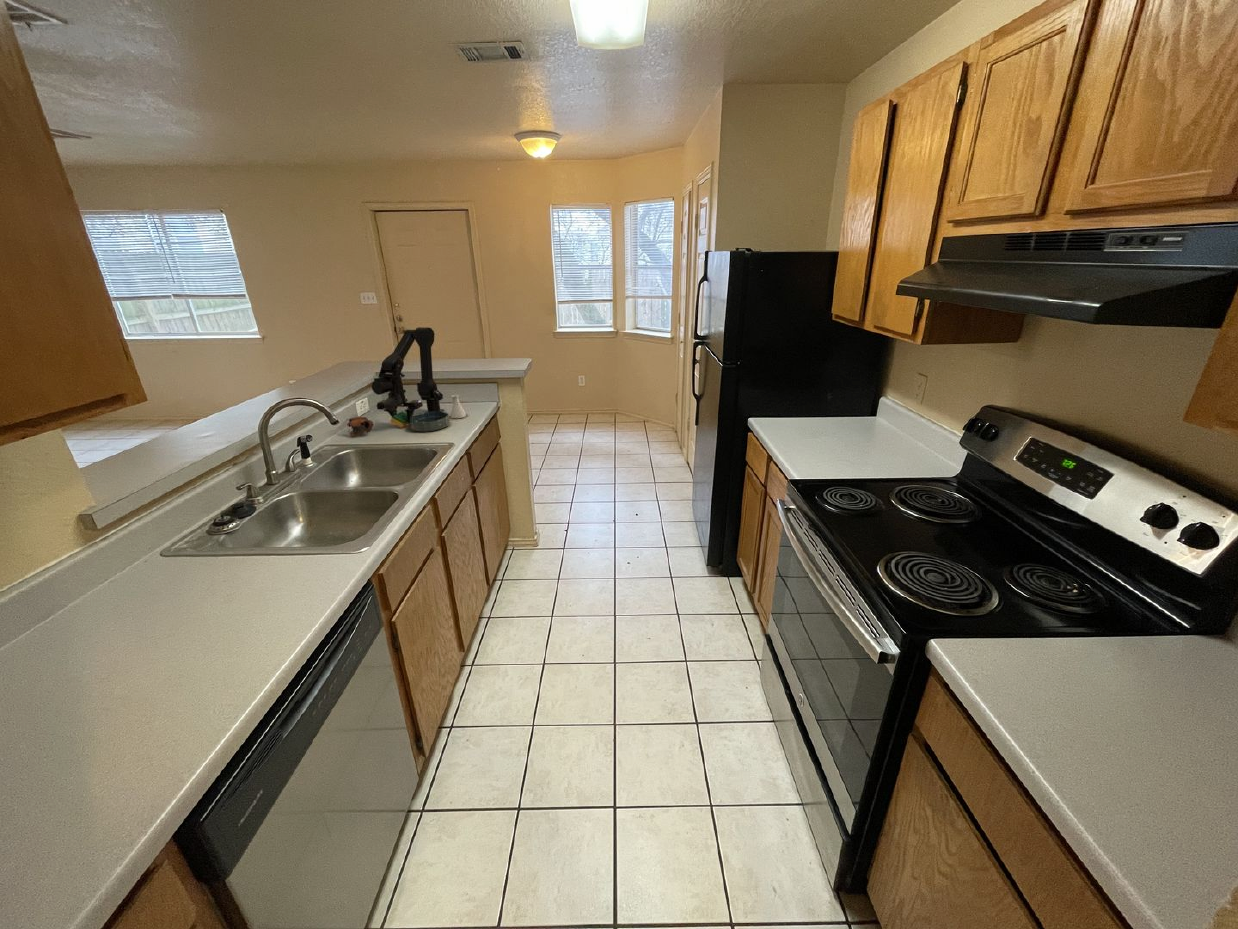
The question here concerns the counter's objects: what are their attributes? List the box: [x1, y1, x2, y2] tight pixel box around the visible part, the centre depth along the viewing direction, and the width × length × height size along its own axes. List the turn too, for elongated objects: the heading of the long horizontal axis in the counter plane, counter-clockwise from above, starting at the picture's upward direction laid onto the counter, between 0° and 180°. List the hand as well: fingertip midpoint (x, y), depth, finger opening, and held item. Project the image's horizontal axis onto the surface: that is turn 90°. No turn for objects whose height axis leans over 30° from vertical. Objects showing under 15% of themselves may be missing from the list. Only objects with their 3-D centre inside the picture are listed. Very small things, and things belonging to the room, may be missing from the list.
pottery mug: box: [346, 416, 374, 438], centre depth 215 cm, size 12×10×8 cm
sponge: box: [390, 410, 410, 429], centre depth 224 cm, size 9×6×3 cm, turn 173°
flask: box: [450, 394, 467, 419], centre depth 233 cm, size 7×7×10 cm
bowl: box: [409, 411, 451, 433], centre depth 221 cm, size 16×16×4 cm
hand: (403, 423), depth 225 cm, fingers closed on sponge, 6 cm apart
